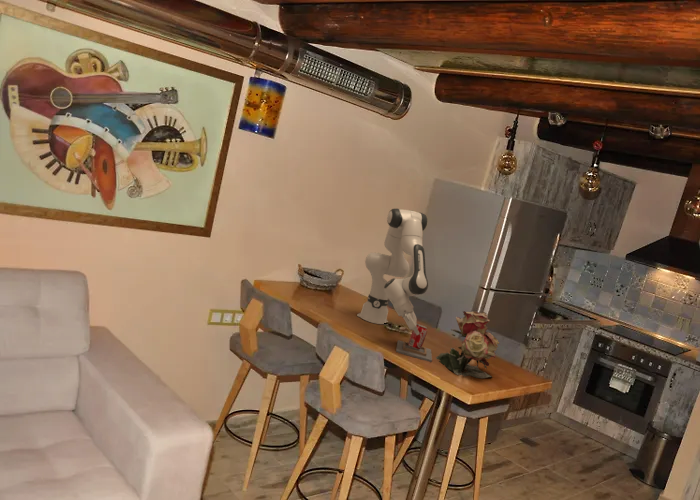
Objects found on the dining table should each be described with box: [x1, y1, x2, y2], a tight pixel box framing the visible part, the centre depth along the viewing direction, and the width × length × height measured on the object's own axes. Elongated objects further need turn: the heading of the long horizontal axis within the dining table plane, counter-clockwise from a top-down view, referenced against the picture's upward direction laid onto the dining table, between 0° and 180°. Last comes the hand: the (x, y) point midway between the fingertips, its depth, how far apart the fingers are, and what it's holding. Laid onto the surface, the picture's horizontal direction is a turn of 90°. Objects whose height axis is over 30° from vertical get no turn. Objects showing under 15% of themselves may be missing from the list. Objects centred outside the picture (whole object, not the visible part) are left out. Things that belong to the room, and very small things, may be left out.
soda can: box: [408, 323, 428, 350], centre depth 315 cm, size 7×7×12 cm
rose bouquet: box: [435, 310, 500, 379], centre depth 307 cm, size 26×29×30 cm
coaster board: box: [395, 340, 433, 363], centre depth 316 cm, size 20×18×2 cm
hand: (418, 332), depth 315 cm, fingers closed on soda can, 6 cm apart
